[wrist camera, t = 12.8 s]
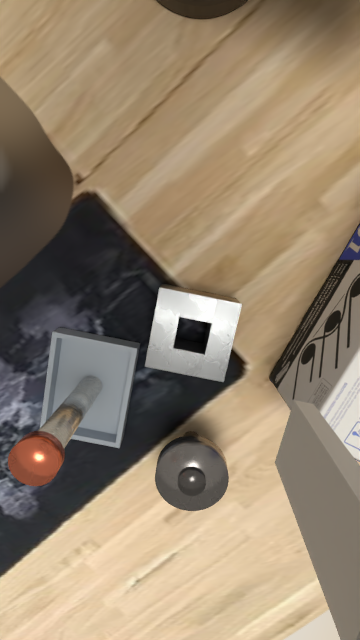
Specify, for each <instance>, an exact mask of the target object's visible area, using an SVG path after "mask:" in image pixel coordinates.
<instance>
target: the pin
mask: <svg viewBox="0 0 360 640" xmlns="http://www.w3.org/2000/svg"><path fill="white" fill-rule="evenodd" d="M101 391H102V382H101V381H100V379H99V378H97V377H95V376H86V377H85V378H83V379H82V381H81V382H80V383H79V384H78V385H77V386H76V388H75V389H74V390H73V391H72V392H71V393H70V394H69V396H68V397H67V398H66V399H65V400H64V401H63V403H62V404H61V405H60V406H59V407H58V408H57V409H56V411H55V412H54V413H53V414H52V415H51V416H50V418H49V419H48V420H47V421H46V422H45V423H44V424H43V426H42V427H41V428H40V429H39V430H38V431H34V432H30V433H28V434H26V435H25V436H24V437H23V438H22V439H21V440H20V441H19V442H18V443H17V444H16V445H15V446H14V448H13V449H12V450H11V452H10V454H9V457H8V465H9V469H10V471H11V473H12V474H13V476H14V477H15V478H16V479H17V480H19V481H20V482H22V483H24V484H26V485H30V486H41V485H44V484H46V483H48V482H50V481H51V480H52V479H53V478H54V477H55V475H56V473H57V472H58V470H59V468H60V467H61V465H62V463H63V461H64V457H65V453H64V448H65V446H66V444H67V443H68V441H69V440H70V438H71V437H72V435H73V434H74V432H75V431H76V429H77V428H78V426H79V425H80V423H81V421H82V420H83V418H84V417H85V415H86V414H87V412H88V411H89V409H90V408H91V406H92V405H93V403H94V402H95V400H96V398H97V397H98V395H99V394H100V392H101Z"/></svg>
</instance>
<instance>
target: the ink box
mask: <svg viewBox="0 0 360 640" xmlns="http://www.w3.org/2000/svg"><path fill="white" fill-rule="evenodd" d="M270 381H271V382H272V383H273V384H274V385H275V387H276V388H277V390H278V392H279V393H280V395H281V396H282V398H283V399H284V401H285V402H286V404H287V405H288V407H289V408H290V410H291V409H292V406H293V403H294V400H296V401H301V402H306V403H310V404H314V405H315V406H316V408H317V409H318V410H319V412H320V413H321V414H322V416H323V417H324V418H325V420H326V421H327V423H328V424H329V425H330V427H331V428H332V429H333V431H334V432H335V433H336V435H337V436H338V437H339V439H340V440H341V441H342V443H343V444H344V445H345V447H346V448H347V449H348V451H349V452H350V453H351V455H352V456H353V457H354V459H355V460H357V461H359V462H360V224H359V226H358V228H357V230H356V231H355V233H354V235H353V236H352V238H351V240H350V241H349V243H348V245H347V246H346V248H345V250H344V252H343V253H342V255H341V257H340V259H339V260H338V262H337V263H336V265H335V267H334V269H333V270H332V272H331V274H330V276H329V277H328V279H327V280H326V282H325V284H324V286H323V287H322V289H321V291H320V292H319V294H318V295H317V297H316V299H315V301H314V302H313V304H312V306H311V307H310V309H309V310H308V312H307V313H306V315H305V317H304V319H303V321H302V323H301V325H300V326H299V328H298V330H297V332H296V333H295V335H294V337H293V338H292V340H291V342H290V343H289V345H288V347H287V348H286V350H285V352H284V353H283V356H282V357H281V359H280V360H279V362H278V363H277V365H276V367H275V368H274V370H273V372H272V374H271V376H270Z"/></svg>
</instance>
